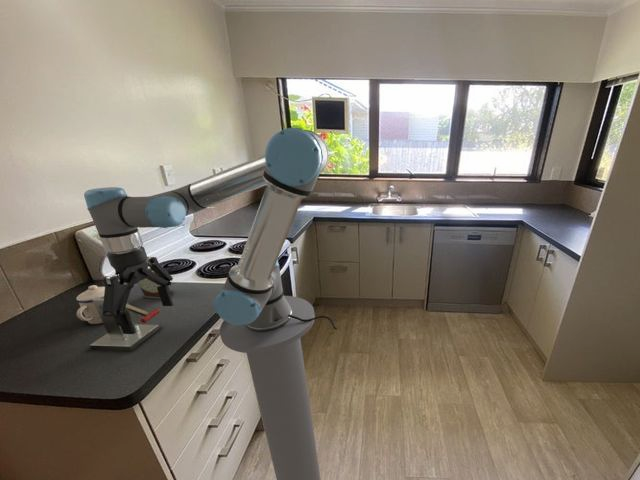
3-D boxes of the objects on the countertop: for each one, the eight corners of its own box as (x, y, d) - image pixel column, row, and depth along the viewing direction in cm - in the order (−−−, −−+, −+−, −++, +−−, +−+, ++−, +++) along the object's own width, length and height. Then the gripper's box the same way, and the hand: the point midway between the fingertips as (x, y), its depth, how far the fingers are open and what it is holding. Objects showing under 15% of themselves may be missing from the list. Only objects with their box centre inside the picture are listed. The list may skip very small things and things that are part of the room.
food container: (182, 291, 112) (175, 268, 108) (168, 299, 106) (160, 275, 102) (155, 288, 114) (147, 265, 110) (140, 296, 108) (131, 272, 104)
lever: (159, 315, 85) (160, 308, 84) (145, 325, 80) (146, 318, 79) (114, 297, 83) (114, 291, 82) (97, 307, 78) (97, 300, 78)
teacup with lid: (103, 309, 100) (90, 280, 95) (130, 308, 100) (118, 279, 96) (70, 331, 89) (53, 298, 84) (100, 330, 89) (85, 297, 85)
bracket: (159, 328, 90) (144, 287, 84) (131, 350, 80) (112, 305, 75) (123, 327, 90) (105, 286, 85) (91, 349, 81) (69, 304, 75)
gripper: (150, 233, 86) (170, 295, 94) (58, 269, 63) (95, 347, 71) (174, 234, 85) (192, 296, 93) (90, 270, 62) (124, 348, 70)
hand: (150, 318), depth 82 cm, fingers open, 13 cm apart
